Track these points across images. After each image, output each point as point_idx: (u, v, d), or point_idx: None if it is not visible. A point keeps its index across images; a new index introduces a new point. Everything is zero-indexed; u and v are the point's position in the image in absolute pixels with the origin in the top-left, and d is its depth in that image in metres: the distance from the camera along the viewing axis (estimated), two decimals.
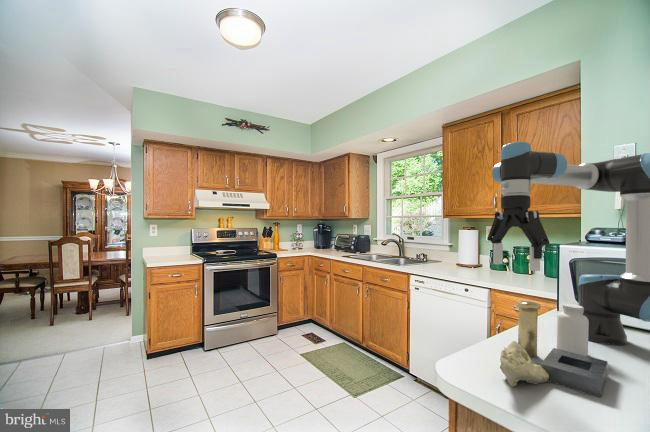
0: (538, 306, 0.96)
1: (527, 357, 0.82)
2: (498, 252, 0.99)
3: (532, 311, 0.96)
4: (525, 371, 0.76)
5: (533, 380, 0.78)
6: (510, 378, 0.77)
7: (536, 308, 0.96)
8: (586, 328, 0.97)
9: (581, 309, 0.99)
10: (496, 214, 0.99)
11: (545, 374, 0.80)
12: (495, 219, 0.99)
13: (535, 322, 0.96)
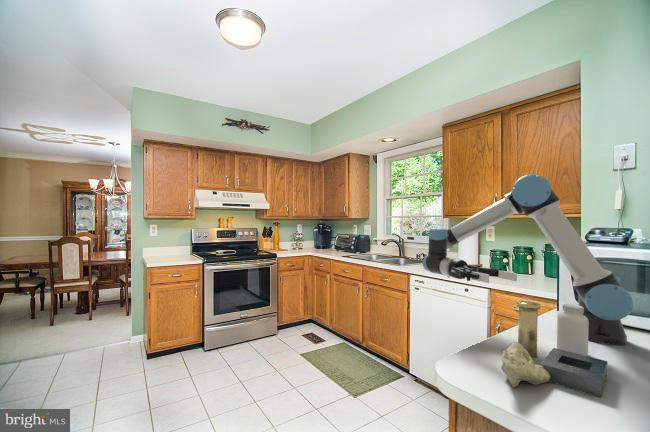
0: (538, 306, 0.96)
1: (528, 357, 0.82)
2: (505, 275, 1.13)
3: (532, 311, 0.96)
4: (527, 371, 0.76)
5: (535, 380, 0.78)
6: (512, 379, 0.77)
7: (536, 308, 0.96)
8: (586, 328, 0.97)
9: (581, 309, 0.99)
10: None
11: (546, 374, 0.80)
12: None
13: (535, 322, 0.96)
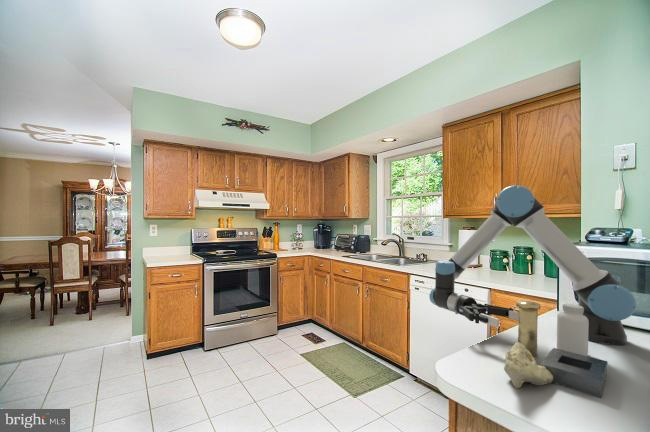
0: (538, 306, 0.96)
1: (531, 358, 0.82)
2: (516, 316, 1.09)
3: (532, 311, 0.96)
4: (530, 372, 0.75)
5: (538, 382, 0.77)
6: (515, 380, 0.76)
7: (536, 308, 0.96)
8: (586, 328, 0.97)
9: (581, 309, 0.99)
10: (486, 310, 1.20)
11: (550, 375, 0.79)
12: None
13: (535, 322, 0.96)
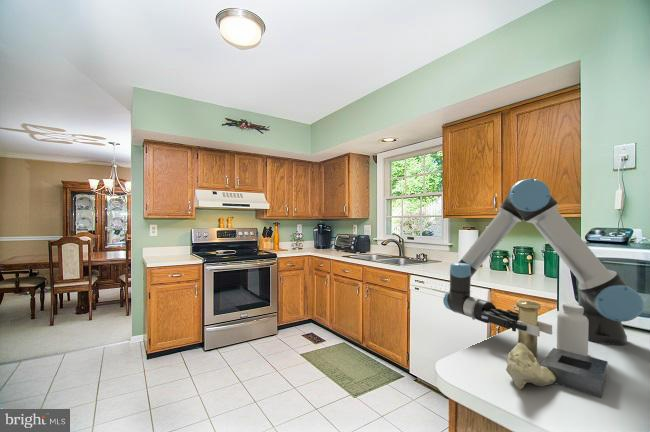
0: (538, 306, 0.96)
1: (533, 359, 0.81)
2: (538, 326, 0.98)
3: (532, 311, 0.96)
4: (532, 373, 0.75)
5: (540, 382, 0.77)
6: (517, 381, 0.76)
7: (536, 308, 0.96)
8: (586, 328, 0.97)
9: (581, 309, 0.99)
10: None
11: (552, 376, 0.79)
12: None
13: (535, 322, 0.96)
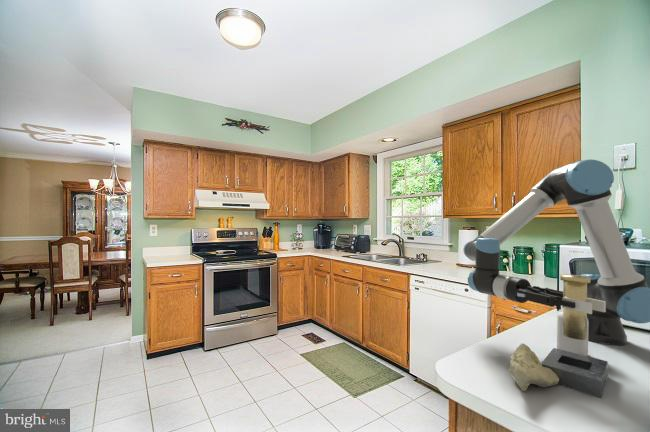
0: (588, 279, 0.82)
1: (537, 360, 0.81)
2: None
3: (581, 285, 0.82)
4: (536, 374, 0.74)
5: (544, 384, 0.76)
6: (521, 382, 0.75)
7: (586, 281, 0.81)
8: None
9: None
10: None
11: (555, 377, 0.78)
12: None
13: (585, 298, 0.82)
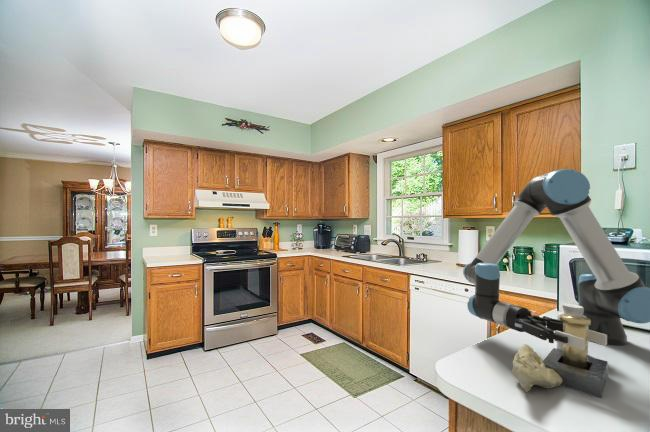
0: (589, 321, 0.81)
1: (540, 361, 0.80)
2: (588, 336, 0.85)
3: (582, 327, 0.82)
4: (539, 375, 0.74)
5: (547, 385, 0.76)
6: (524, 383, 0.75)
7: (586, 324, 0.81)
8: None
9: (581, 309, 0.99)
10: None
11: (559, 378, 0.78)
12: None
13: (585, 340, 0.82)
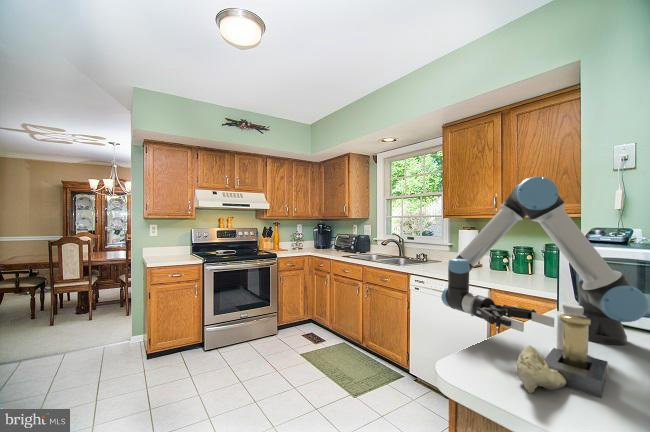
0: (588, 321, 0.81)
1: (543, 362, 0.80)
2: (540, 319, 0.99)
3: (581, 327, 0.82)
4: (543, 376, 0.73)
5: (551, 386, 0.75)
6: (528, 384, 0.74)
7: (586, 324, 0.81)
8: None
9: (581, 309, 0.99)
10: None
11: (562, 379, 0.77)
12: None
13: (585, 340, 0.82)
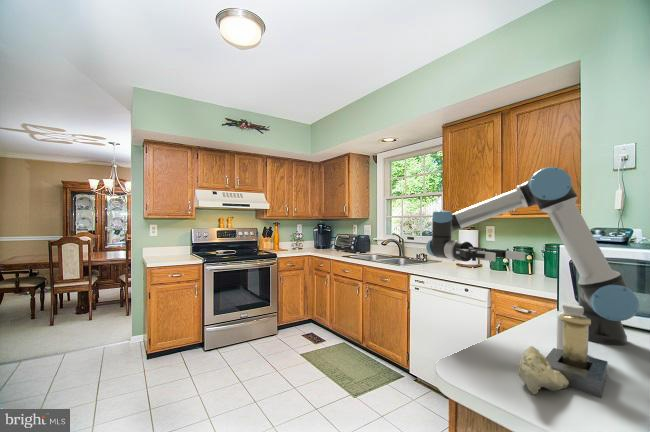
0: (589, 321, 0.81)
1: (546, 363, 0.79)
2: (513, 255, 1.08)
3: (582, 327, 0.82)
4: (547, 378, 0.73)
5: (554, 387, 0.75)
6: (531, 386, 0.74)
7: (586, 324, 0.81)
8: None
9: (581, 309, 0.99)
10: None
11: (565, 380, 0.77)
12: None
13: (585, 340, 0.82)
